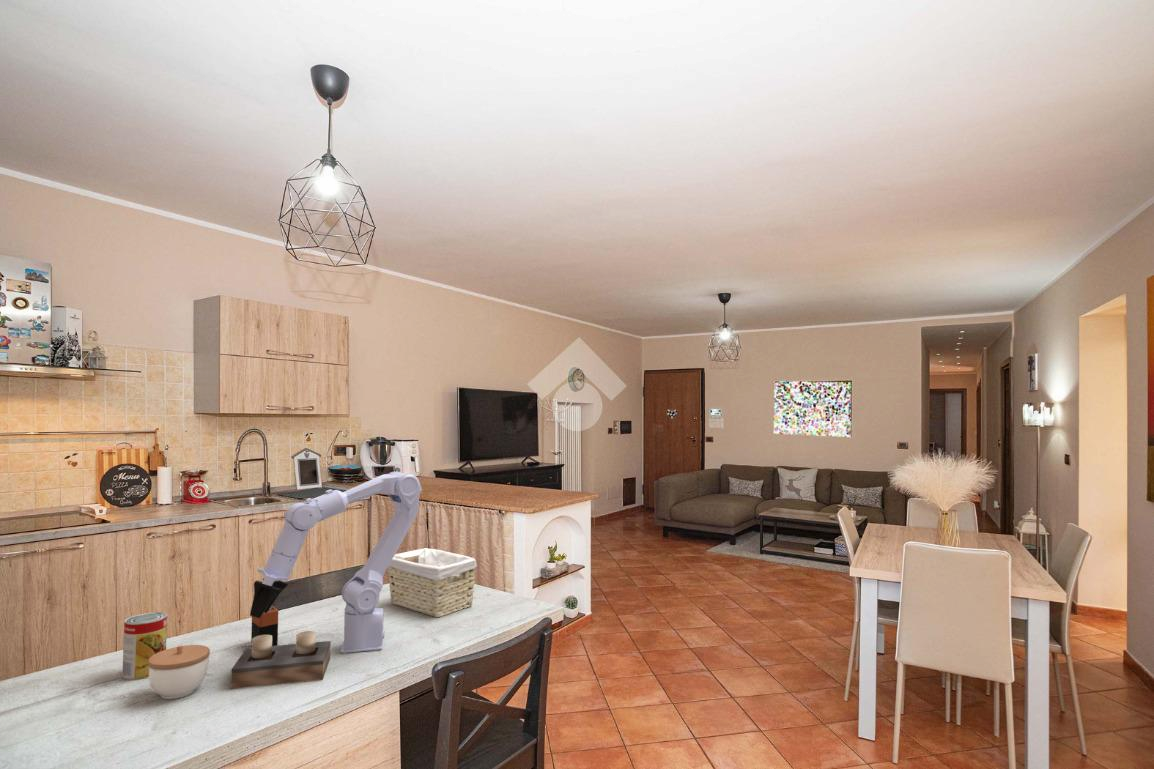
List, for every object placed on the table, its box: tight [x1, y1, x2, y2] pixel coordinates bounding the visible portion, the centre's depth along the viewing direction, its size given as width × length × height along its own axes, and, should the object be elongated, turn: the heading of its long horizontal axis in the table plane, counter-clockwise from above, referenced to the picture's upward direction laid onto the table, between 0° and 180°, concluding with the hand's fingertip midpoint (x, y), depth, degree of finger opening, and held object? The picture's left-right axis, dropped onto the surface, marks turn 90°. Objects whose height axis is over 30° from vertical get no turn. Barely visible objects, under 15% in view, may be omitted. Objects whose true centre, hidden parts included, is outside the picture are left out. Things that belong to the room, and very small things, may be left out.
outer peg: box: [251, 635, 272, 658], centre depth 136 cm, size 4×4×4 cm
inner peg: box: [295, 630, 317, 654], centre depth 138 cm, size 4×4×4 cm
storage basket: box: [387, 547, 477, 618], centre depth 185 cm, size 24×16×15 cm
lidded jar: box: [148, 644, 211, 700], centre depth 127 cm, size 11×11×9 cm
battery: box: [250, 605, 279, 646], centre depth 153 cm, size 4×7×10 cm, turn 44°
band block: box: [230, 640, 332, 690], centre depth 137 cm, size 18×12×4 cm, turn 105°
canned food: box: [121, 611, 168, 681], centre depth 137 cm, size 8×8×12 cm
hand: (258, 614), depth 138 cm, fingers open, 7 cm apart
